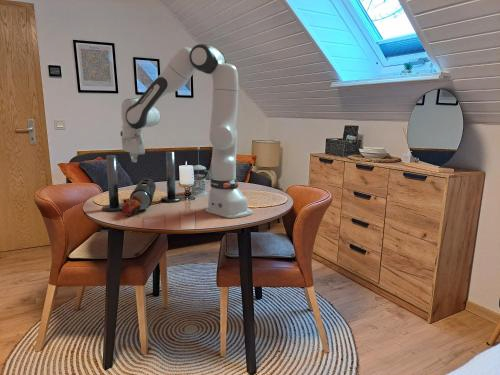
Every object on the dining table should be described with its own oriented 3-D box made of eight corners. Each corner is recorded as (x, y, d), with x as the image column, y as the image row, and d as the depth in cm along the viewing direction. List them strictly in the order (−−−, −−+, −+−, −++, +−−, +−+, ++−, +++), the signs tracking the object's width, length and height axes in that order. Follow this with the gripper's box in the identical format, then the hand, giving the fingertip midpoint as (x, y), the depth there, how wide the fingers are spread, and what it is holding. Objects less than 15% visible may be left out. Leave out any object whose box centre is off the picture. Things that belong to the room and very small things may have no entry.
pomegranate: (143, 218, 156) (129, 202, 158) (149, 207, 152) (134, 191, 154) (130, 224, 150) (115, 208, 152) (135, 213, 146) (120, 196, 148)
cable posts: (185, 200, 178) (184, 152, 173) (106, 213, 155) (102, 158, 150) (176, 196, 185) (174, 150, 180) (99, 207, 162) (95, 155, 157)
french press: (187, 191, 197) (186, 146, 192) (207, 190, 202) (207, 145, 197) (192, 195, 189) (191, 148, 183) (213, 193, 193) (213, 147, 188)
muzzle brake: (156, 197, 184) (156, 177, 182) (152, 212, 157) (151, 189, 155) (137, 197, 183) (136, 177, 180) (129, 213, 156) (128, 190, 154)
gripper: (147, 134, 165) (149, 164, 168) (131, 132, 181) (133, 159, 184) (134, 135, 161) (135, 165, 164) (118, 132, 177) (120, 160, 180)
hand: (134, 162), depth 174 cm, fingers closed
